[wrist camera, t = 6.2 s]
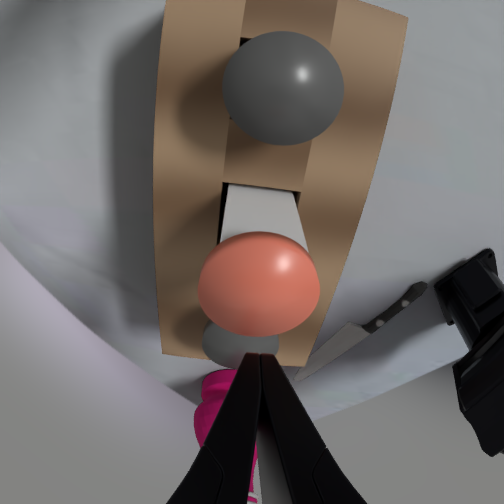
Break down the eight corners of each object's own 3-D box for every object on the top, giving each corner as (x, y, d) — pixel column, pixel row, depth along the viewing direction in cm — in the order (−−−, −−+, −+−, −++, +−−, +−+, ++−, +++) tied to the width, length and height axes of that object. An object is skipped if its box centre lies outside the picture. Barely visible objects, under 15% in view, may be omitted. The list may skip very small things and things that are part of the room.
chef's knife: (260, 380, 32) (281, 389, 33) (259, 388, 32) (281, 398, 32) (408, 263, 24) (427, 281, 25) (413, 271, 23) (431, 289, 24)
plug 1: (267, 296, 24) (271, 371, 19) (210, 290, 24) (201, 365, 18) (277, 249, 22) (286, 324, 16) (214, 242, 22) (202, 316, 16)
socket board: (297, 317, 26) (304, 366, 22) (174, 305, 25) (162, 353, 21) (370, 24, 14) (408, 17, 10) (191, -5, 13) (170, -25, 9)
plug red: (288, 245, 18) (303, 340, 12) (212, 237, 18) (196, 331, 12) (304, 175, 16) (334, 252, 10) (219, 164, 15) (199, 237, 10)
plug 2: (303, 119, 17) (331, 154, 11) (228, 108, 17) (216, 137, 11) (316, 48, 15) (353, 45, 9) (237, 36, 14) (230, 23, 9)
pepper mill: (183, 381, 32) (162, 566, 15) (235, 356, 29) (228, 575, 12) (230, 407, 35) (226, 570, 18) (281, 387, 32) (291, 571, 16)
